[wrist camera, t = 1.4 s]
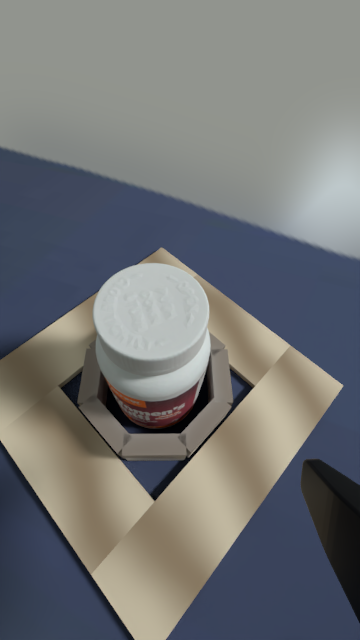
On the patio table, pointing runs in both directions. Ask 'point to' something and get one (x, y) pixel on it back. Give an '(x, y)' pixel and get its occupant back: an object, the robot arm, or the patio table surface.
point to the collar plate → (157, 455)
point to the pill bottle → (153, 342)
